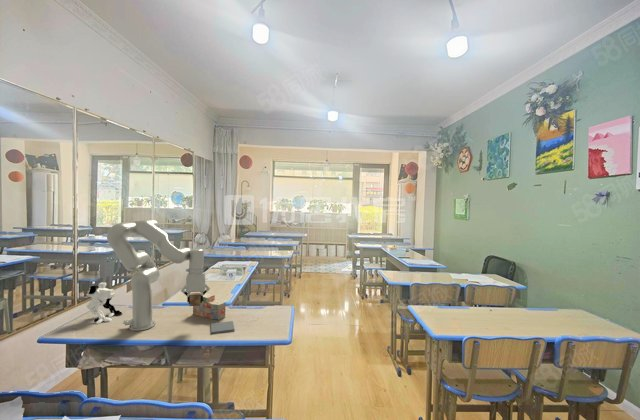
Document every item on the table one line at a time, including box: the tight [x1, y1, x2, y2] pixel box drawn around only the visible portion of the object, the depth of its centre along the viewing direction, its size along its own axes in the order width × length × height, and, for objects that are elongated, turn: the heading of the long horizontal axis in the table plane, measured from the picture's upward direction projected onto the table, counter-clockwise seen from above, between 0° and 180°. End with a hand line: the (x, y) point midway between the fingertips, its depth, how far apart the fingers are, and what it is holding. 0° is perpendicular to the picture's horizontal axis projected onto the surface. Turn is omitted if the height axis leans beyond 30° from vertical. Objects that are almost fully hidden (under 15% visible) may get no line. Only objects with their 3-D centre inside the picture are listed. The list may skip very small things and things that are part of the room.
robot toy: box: [86, 282, 123, 325], centre depth 179 cm, size 19×14×20 cm
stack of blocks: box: [192, 293, 226, 321], centre depth 186 cm, size 21×6×12 cm, turn 64°
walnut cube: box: [189, 292, 201, 307], centre depth 169 cm, size 6×6×6 cm
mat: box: [210, 320, 235, 335], centre depth 168 cm, size 12×12×1 cm
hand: (195, 302), depth 169 cm, fingers closed on walnut cube, 5 cm apart
